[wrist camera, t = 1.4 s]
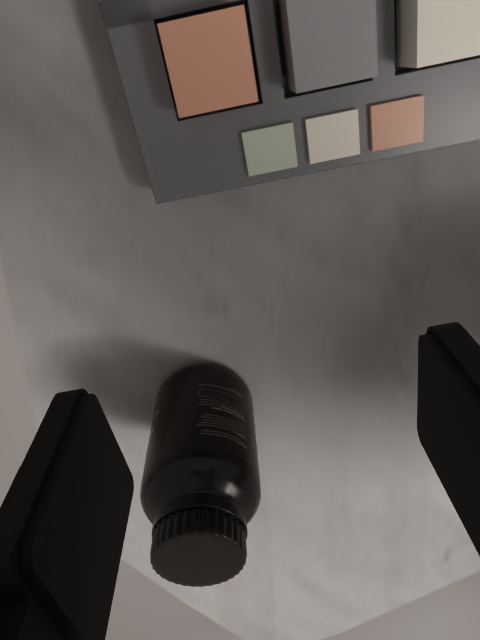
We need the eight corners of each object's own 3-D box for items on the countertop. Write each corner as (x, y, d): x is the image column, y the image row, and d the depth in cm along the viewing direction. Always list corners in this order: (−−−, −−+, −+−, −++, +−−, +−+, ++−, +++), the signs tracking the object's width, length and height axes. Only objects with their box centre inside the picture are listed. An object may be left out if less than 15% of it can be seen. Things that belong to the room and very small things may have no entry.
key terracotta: (240, 10, 19) (243, 4, 17) (254, 96, 21) (258, 101, 19) (163, 27, 20) (157, 23, 18) (183, 111, 21) (179, 118, 19)
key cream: (477, -44, 19) (511, -56, 17) (471, 50, 21) (501, 50, 18) (395, -25, 19) (418, -35, 17) (396, 66, 21) (417, 68, 19)
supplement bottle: (136, 389, 32) (97, 550, 22) (218, 344, 30) (217, 495, 20) (193, 447, 35) (182, 613, 25) (269, 409, 33) (292, 569, 23)
